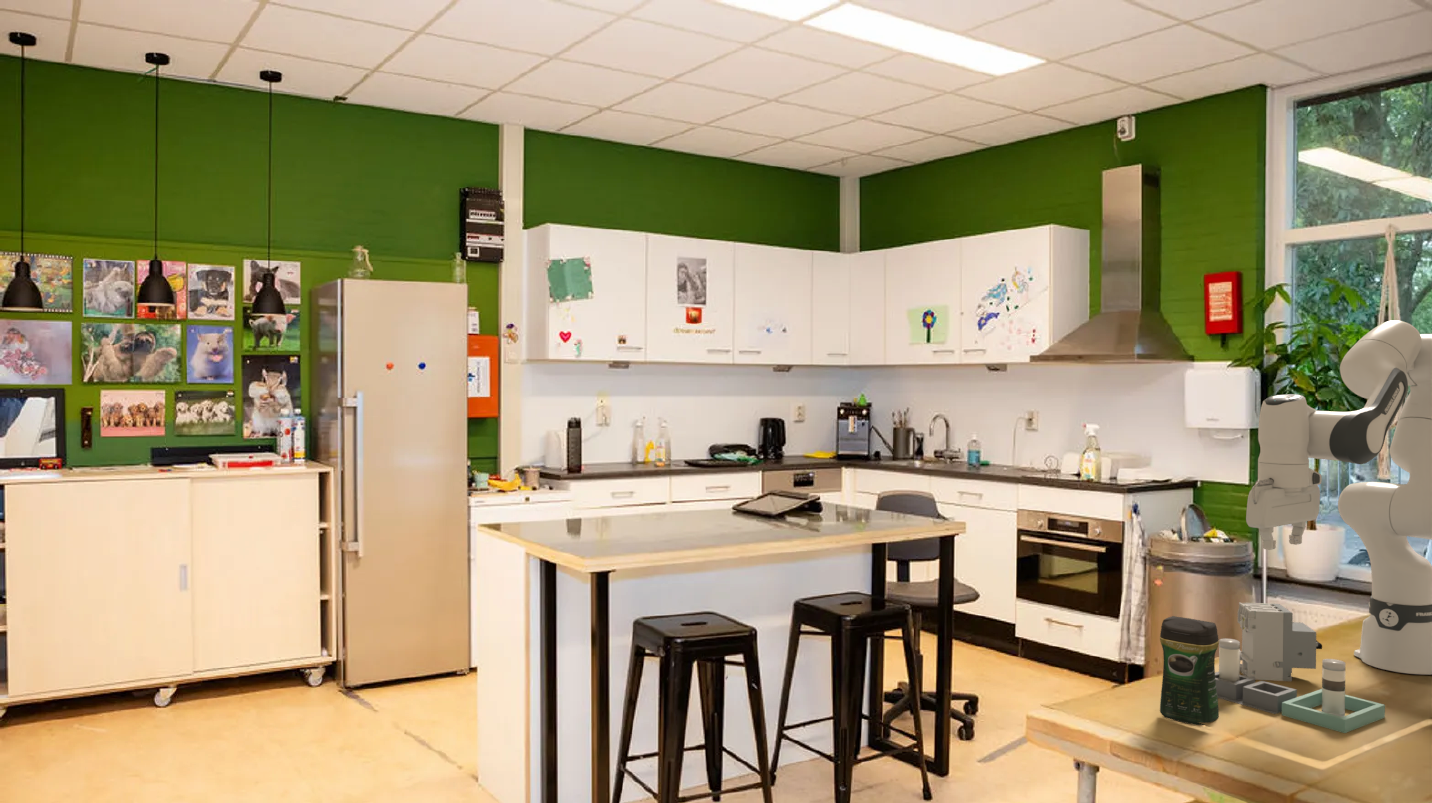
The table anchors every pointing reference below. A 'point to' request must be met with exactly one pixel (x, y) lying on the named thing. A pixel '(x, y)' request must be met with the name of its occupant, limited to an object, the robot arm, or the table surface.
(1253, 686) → the block
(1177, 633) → the coffee jar
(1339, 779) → the table surface
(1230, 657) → the cylinder
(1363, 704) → the parts tray
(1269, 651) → the circuit breaker
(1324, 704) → the cylinder
